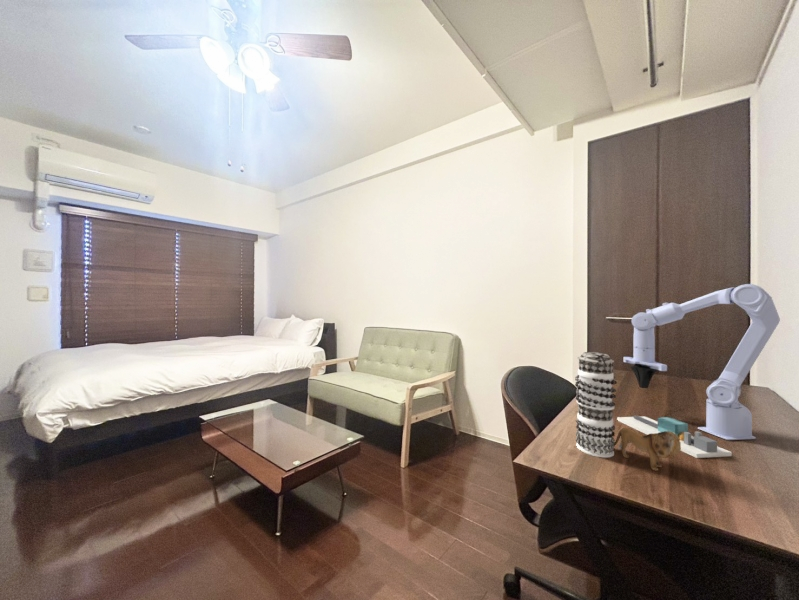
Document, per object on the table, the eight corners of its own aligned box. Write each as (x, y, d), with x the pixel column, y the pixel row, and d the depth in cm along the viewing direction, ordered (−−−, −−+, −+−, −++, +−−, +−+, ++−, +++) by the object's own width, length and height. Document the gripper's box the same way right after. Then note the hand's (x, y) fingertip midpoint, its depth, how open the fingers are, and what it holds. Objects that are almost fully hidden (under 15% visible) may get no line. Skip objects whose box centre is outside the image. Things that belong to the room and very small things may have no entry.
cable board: (644, 419, 101) (644, 407, 101) (731, 456, 77) (731, 440, 77) (617, 420, 100) (617, 408, 100) (696, 458, 76) (696, 441, 76)
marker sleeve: (669, 429, 90) (670, 417, 90) (687, 437, 85) (688, 423, 85) (657, 430, 89) (657, 417, 89) (675, 438, 84) (675, 424, 84)
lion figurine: (685, 472, 69) (685, 432, 69) (675, 479, 67) (676, 437, 67) (613, 445, 82) (613, 412, 82) (602, 450, 79) (603, 415, 79)
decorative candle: (621, 450, 79) (621, 354, 79) (609, 462, 73) (610, 358, 73) (582, 438, 86) (582, 349, 86) (568, 448, 80) (569, 352, 80)
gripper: (615, 344, 112) (615, 382, 111) (653, 351, 97) (652, 394, 97) (633, 344, 112) (633, 381, 112) (673, 351, 98) (672, 393, 98)
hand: (643, 387), depth 105 cm, fingers closed
